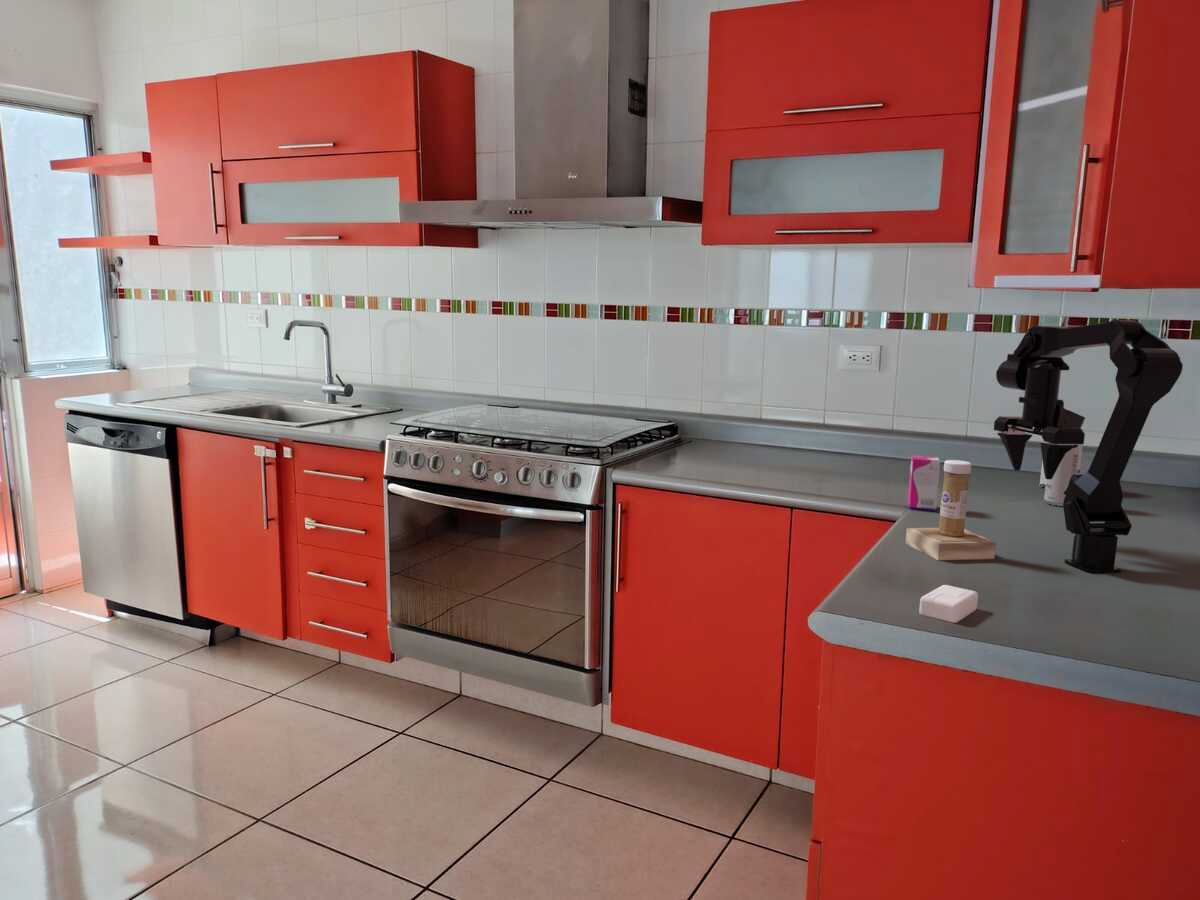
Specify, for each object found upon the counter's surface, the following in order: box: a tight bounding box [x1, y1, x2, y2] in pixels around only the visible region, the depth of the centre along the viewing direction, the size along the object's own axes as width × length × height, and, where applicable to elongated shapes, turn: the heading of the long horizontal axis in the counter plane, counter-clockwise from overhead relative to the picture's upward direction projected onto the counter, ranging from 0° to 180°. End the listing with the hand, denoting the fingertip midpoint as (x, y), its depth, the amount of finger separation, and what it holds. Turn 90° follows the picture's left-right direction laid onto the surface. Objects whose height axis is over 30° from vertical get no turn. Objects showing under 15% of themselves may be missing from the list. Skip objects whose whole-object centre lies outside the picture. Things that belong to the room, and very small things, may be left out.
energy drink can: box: [1043, 447, 1079, 504], centre depth 207 cm, size 6×6×15 cm
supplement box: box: [907, 455, 941, 512], centre depth 199 cm, size 6×6×12 cm
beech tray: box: [904, 527, 997, 561], centre depth 162 cm, size 11×11×3 cm
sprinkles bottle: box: [938, 459, 972, 537], centre depth 161 cm, size 5×5×13 cm
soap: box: [918, 584, 979, 624], centre depth 129 cm, size 9×6×3 cm, turn 139°
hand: (1032, 474), depth 170 cm, fingers open, 9 cm apart
